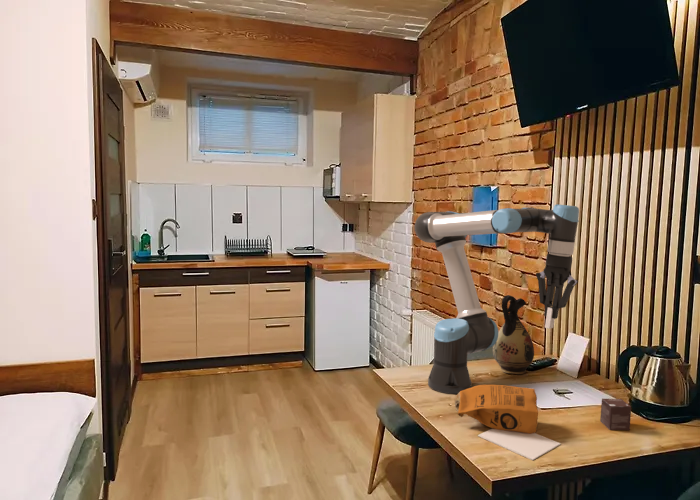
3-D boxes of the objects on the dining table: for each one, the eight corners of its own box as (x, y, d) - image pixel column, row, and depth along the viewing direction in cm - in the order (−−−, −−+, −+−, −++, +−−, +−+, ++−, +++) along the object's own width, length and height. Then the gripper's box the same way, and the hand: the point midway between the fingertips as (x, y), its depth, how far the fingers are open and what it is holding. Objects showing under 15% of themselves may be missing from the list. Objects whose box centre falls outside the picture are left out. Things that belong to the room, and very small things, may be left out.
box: (619, 421, 155) (621, 398, 154) (630, 430, 149) (632, 406, 148) (599, 421, 155) (601, 398, 154) (609, 430, 149) (610, 406, 148)
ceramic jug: (507, 361, 211) (511, 290, 208) (541, 372, 198) (545, 296, 195) (480, 369, 201) (483, 294, 198) (513, 381, 188) (517, 301, 185)
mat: (477, 436, 144) (477, 435, 144) (506, 422, 153) (506, 421, 153) (532, 460, 131) (532, 459, 131) (560, 444, 140) (560, 443, 140)
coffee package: (536, 440, 145) (457, 430, 150) (533, 409, 156) (459, 401, 161) (539, 413, 141) (457, 404, 146) (535, 383, 151) (459, 376, 157)
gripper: (585, 257, 157) (574, 331, 160) (546, 250, 167) (536, 321, 170) (574, 258, 152) (563, 334, 155) (534, 251, 162) (524, 323, 165)
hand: (549, 327), depth 163 cm, fingers closed
